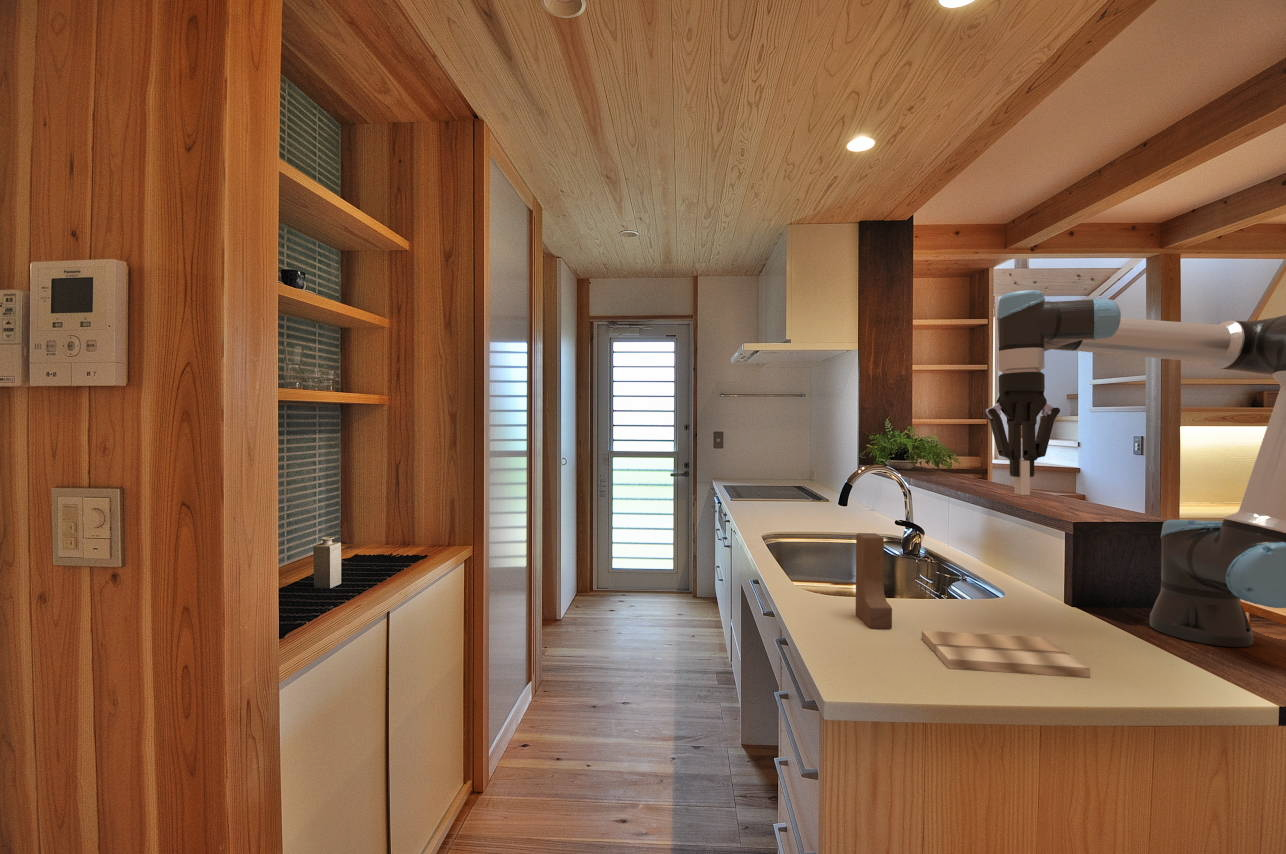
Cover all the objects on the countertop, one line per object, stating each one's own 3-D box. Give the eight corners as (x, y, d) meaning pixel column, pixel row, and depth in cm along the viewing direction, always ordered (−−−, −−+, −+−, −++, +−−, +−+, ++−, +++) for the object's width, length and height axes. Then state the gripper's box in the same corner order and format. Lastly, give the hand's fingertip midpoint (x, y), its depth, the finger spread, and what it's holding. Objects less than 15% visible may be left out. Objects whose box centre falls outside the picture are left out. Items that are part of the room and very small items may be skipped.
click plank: (1044, 645, 110) (1044, 637, 110) (1065, 660, 103) (1065, 651, 103) (921, 638, 113) (921, 630, 113) (934, 652, 106) (934, 643, 106)
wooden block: (892, 629, 118) (893, 541, 118) (870, 629, 119) (871, 540, 119) (875, 615, 127) (876, 533, 127) (854, 614, 128) (855, 532, 128)
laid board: (1067, 661, 103) (1067, 652, 103) (1090, 677, 96) (1090, 667, 96) (935, 653, 106) (935, 644, 106) (948, 668, 100) (948, 658, 99)
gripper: (1046, 373, 116) (1047, 492, 116) (976, 374, 117) (977, 491, 117) (1069, 369, 108) (1070, 496, 108) (994, 371, 110) (995, 495, 110)
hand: (1022, 493), depth 113 cm, fingers closed
